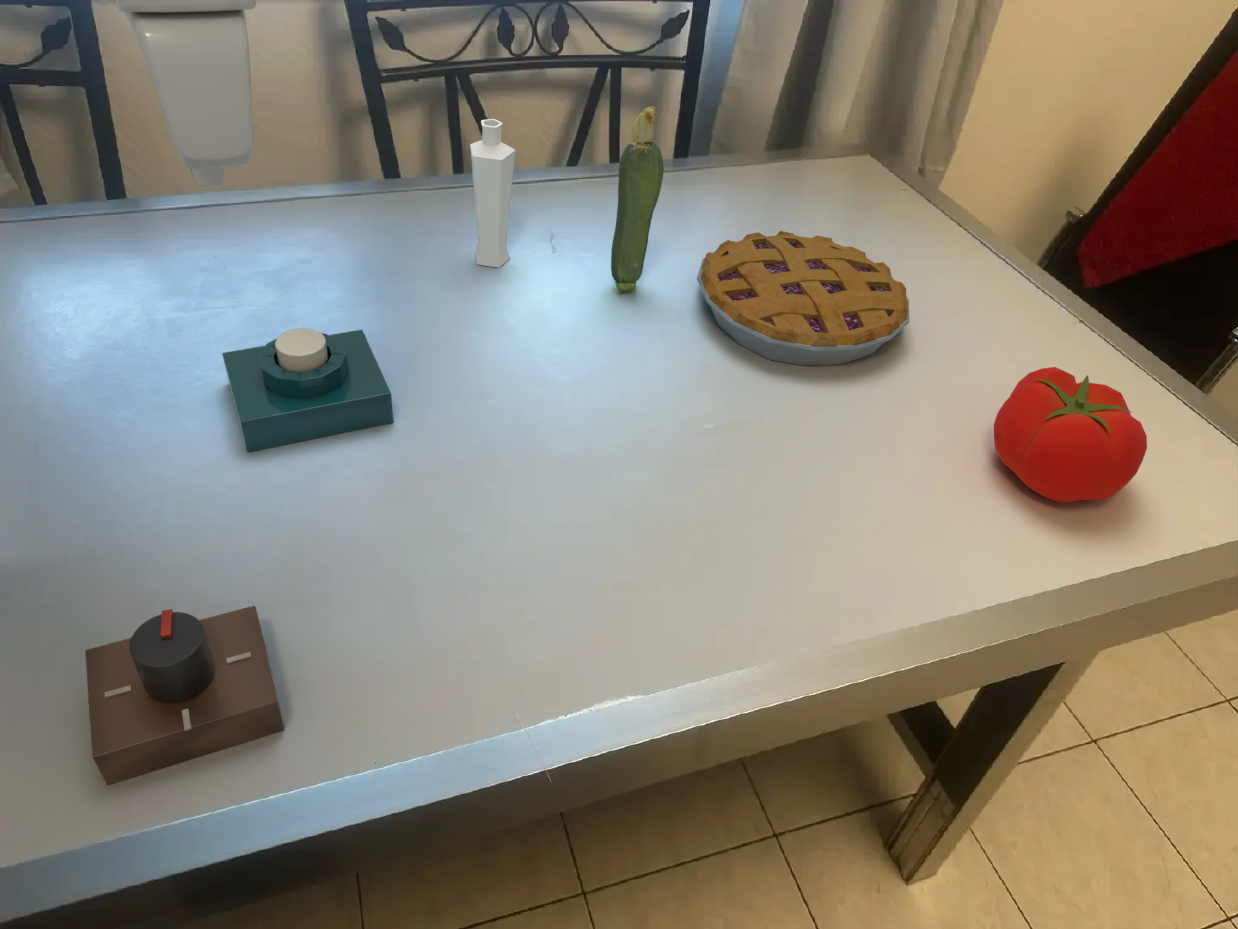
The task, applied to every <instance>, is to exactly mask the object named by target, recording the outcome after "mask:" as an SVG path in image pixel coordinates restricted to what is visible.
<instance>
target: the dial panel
mask: <svg viewBox="0 0 1238 929" xmlns="http://www.w3.org/2000/svg"><path fill="white" fill-rule="evenodd" d="M198 620H199V621H200V622H201V624H202V626H203V629H204V632H205V635H206V638H207V641H208V644H209V648H210V651H211V654H212V657H213V660H214V664H215V672H214V676H213V678H212V680H211V682H210V683H209V685H208V686H207V687H206V688H205V689H204V690H203V691H202V692H200V693H199V694H197V695H196V696H194V697H192V698H190V699H187V700H184V701H180V702H173V703H168V702H161V701H158V700H155V699H154V698H152V697H151V696H149V695H148V693H147V692H146V690H145V688H144V686H143V683H142V681H141V678H140V676H139V673H138V671H137V668H136V666H135V663H134V661H133V659H132V656H131V654H130V650H129V644H130V640H131V637H129V638H125V639H122V640H117V641H114V642H111V643H106V644H102V645H99V646H96V647H91V648H87V649H85V667H86V681H87V683H86V684H87V695H88V709H89V726H90V739H91V754H92V756H91V757H92V759H93V761H94V763H95V765H96V767H97V769H98V771H99V773H100V775H101V777H102V778H103V781H104V783H105V784H106V785H107V786H109V785H113V784H115V783H119V782H122V781H126V780H128V779H131V778H135V777H138V776H141V775H144V774H148V773H150V772H154V771H157V770H161V769H163V768H166V767H171V766H173V765H176V764H179V763H183V762H187V761H189V760H193V759H195V758H199V757H202V756H205V755H209V754H212V753H215V752H218V751H221V750H225V749H227V748H231V747H234V746H237V745H240V744H244V743H246V742H250V741H253V740H257V739H259V738H263V737H266V736H269V735H272V734H276V733H278V732H282V731H284V730H285V728H286V727H285V725H284V720H283V715H282V712H281V707H280V703H279V702H280V701H279V699H278V694H277V689H276V686H275V682H274V677H273V673H272V668H271V665H270V660H269V656H268V650H267V648H266V643H265V638H264V634H263V630H262V626H261V622H260V619H259V615H258V611H257V606H256V605H251V606H247V607H243V608H240V609H236V610H232V611H229V612H225V613H220V614H217V615H213V616H209V617H205V618H201V619H198Z"/></svg>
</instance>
